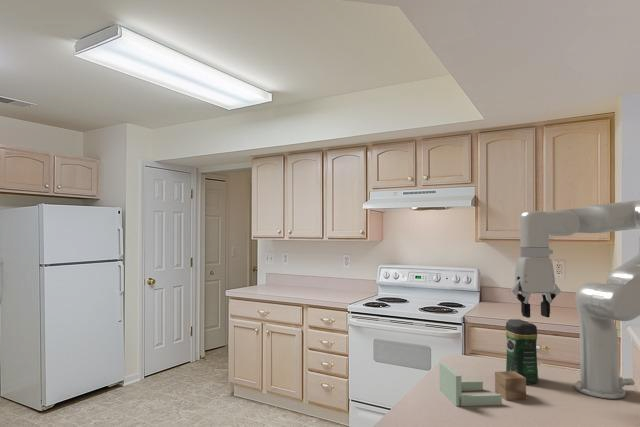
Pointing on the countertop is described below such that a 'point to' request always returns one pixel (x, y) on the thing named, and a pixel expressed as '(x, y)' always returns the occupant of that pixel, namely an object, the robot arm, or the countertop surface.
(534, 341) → the coffee jar
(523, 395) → the walnut block
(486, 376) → the countertop surface
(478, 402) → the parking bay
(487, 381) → the countertop surface
